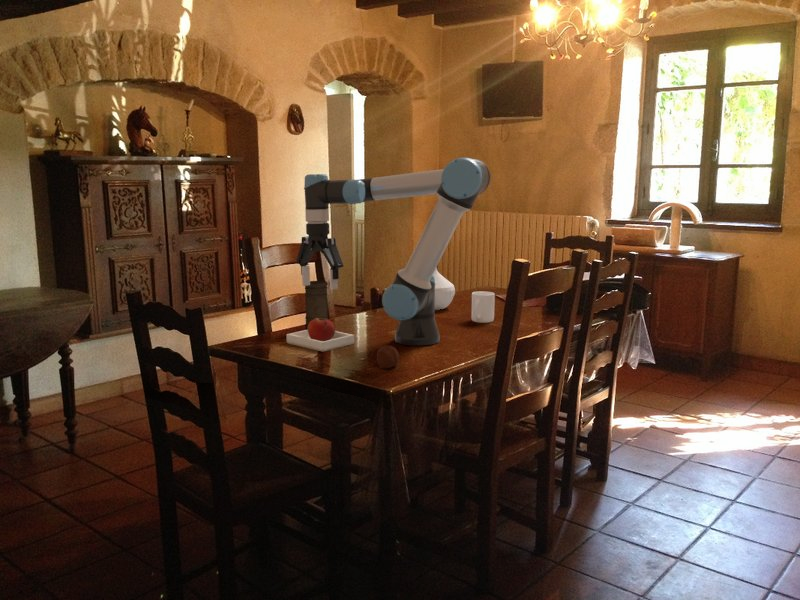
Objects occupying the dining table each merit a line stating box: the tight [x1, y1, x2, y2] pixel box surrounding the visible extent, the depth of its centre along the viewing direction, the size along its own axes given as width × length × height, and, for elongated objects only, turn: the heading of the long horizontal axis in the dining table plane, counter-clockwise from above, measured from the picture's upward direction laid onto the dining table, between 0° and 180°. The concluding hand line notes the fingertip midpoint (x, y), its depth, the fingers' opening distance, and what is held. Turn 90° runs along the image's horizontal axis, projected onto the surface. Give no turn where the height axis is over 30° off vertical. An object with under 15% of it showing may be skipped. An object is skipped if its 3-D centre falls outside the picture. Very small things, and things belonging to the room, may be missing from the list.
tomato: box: [307, 318, 336, 341], centre depth 234 cm, size 9×9×8 cm
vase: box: [433, 266, 456, 311], centre depth 294 cm, size 18×18×19 cm
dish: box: [286, 329, 355, 352], centre depth 234 cm, size 18×14×3 cm
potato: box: [376, 344, 400, 370], centre depth 206 cm, size 7×9×6 cm
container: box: [304, 280, 329, 330], centre depth 250 cm, size 9×9×18 cm
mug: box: [471, 290, 496, 324], centre depth 268 cm, size 9×12×11 cm
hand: (320, 287), depth 231 cm, fingers open, 13 cm apart
